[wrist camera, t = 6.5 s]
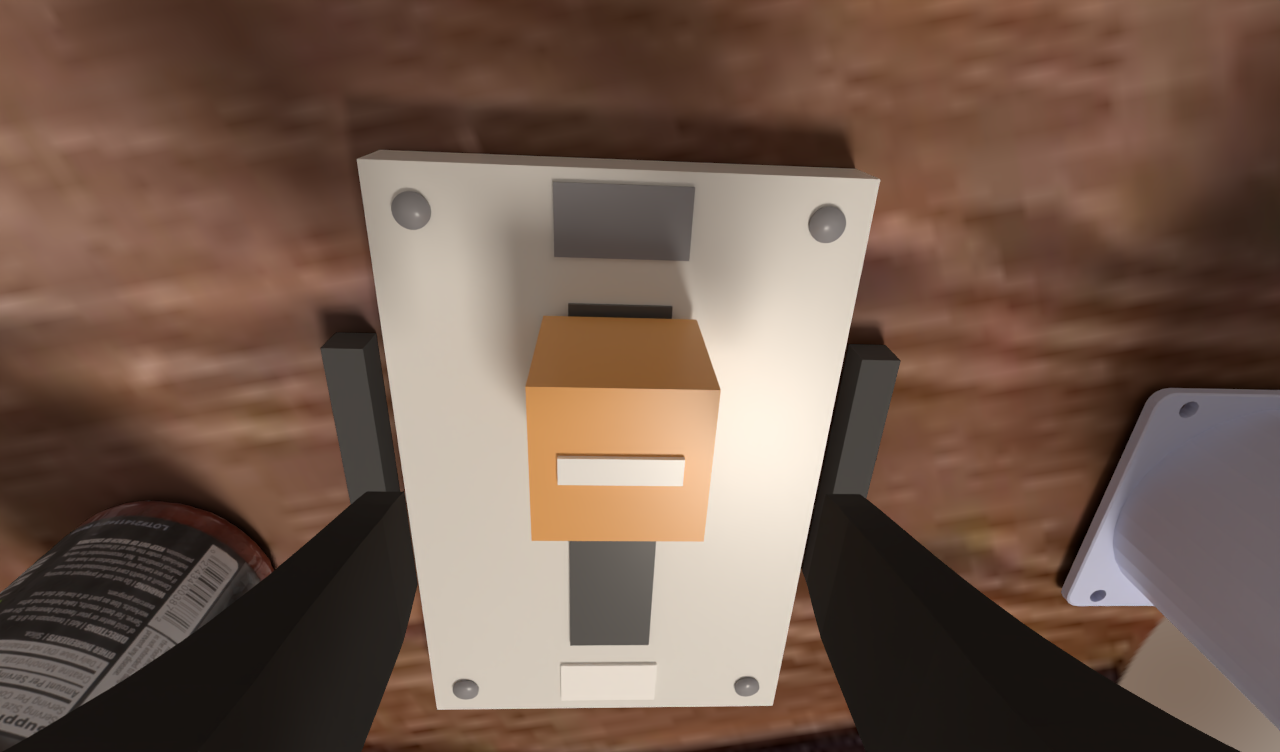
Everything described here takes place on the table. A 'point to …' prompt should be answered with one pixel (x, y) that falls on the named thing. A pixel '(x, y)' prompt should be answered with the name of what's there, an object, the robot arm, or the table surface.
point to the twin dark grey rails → (372, 450)
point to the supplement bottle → (114, 605)
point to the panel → (497, 423)
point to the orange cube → (620, 429)
